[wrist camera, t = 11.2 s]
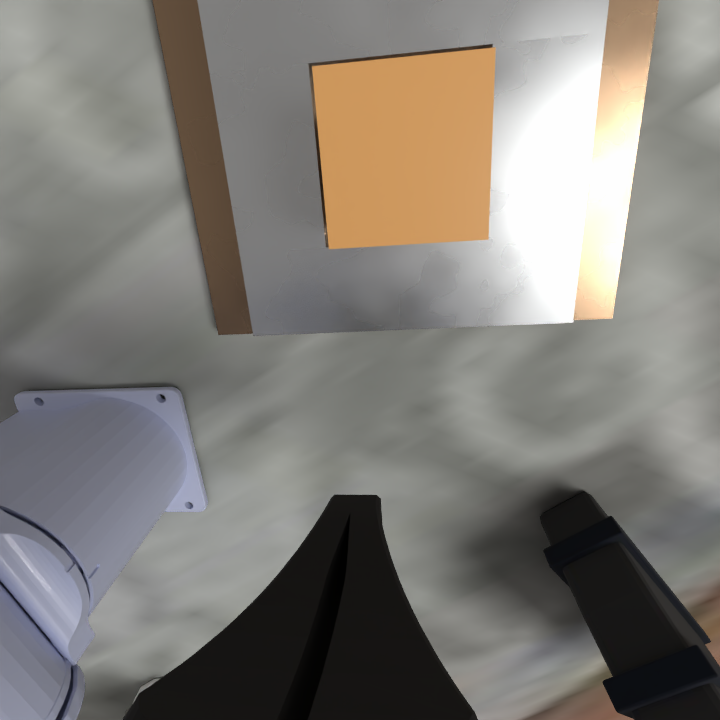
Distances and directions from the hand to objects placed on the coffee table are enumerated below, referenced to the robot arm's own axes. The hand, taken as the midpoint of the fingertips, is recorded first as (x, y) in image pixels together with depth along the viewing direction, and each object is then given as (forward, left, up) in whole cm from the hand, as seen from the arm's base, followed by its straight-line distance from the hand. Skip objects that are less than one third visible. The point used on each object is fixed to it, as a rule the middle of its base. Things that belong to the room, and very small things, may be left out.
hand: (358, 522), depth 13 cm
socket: (+2, +10, -10) cm, 15 cm away
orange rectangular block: (+2, +10, -9) cm, 14 cm away
